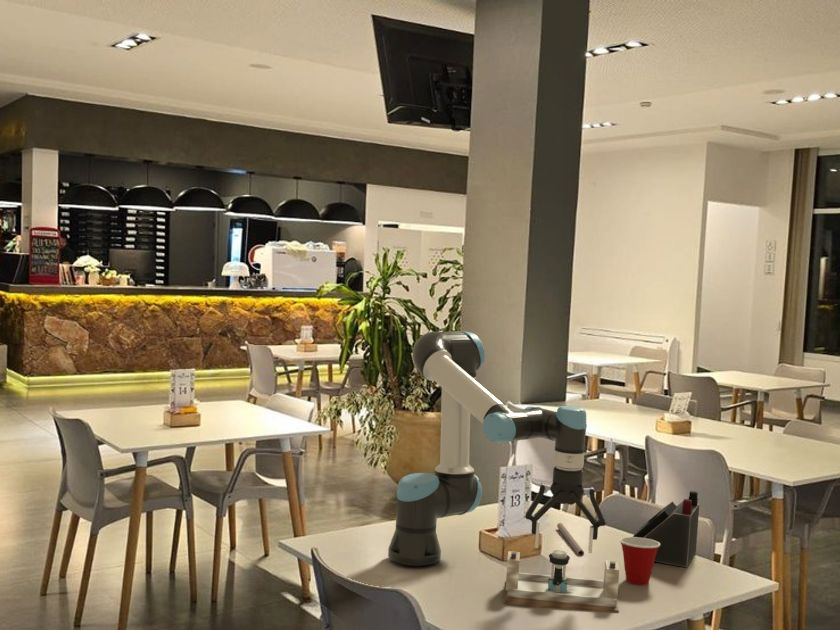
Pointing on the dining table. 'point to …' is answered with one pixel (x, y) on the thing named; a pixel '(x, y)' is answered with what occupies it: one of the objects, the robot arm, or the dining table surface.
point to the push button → (558, 571)
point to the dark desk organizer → (674, 531)
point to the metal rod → (570, 539)
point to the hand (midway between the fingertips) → (563, 549)
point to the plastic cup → (638, 558)
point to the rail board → (582, 597)
